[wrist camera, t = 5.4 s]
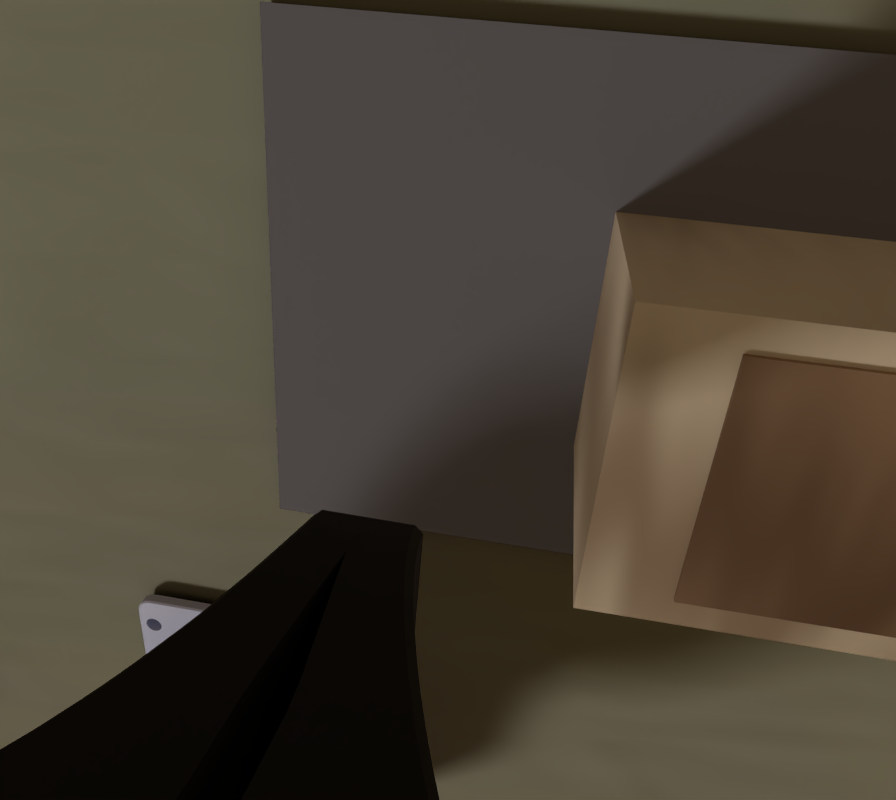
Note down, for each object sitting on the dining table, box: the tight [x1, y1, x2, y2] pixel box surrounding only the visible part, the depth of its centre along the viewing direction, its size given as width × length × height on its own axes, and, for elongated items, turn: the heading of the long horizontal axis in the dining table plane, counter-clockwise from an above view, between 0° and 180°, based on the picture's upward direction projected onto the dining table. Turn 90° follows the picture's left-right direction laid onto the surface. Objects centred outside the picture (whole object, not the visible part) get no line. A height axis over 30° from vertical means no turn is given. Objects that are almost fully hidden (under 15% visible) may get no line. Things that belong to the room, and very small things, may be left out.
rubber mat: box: [260, 2, 896, 555], centre depth 17 cm, size 13×21×1 cm, turn 86°
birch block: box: [573, 212, 896, 661], centre depth 14 cm, size 6×6×10 cm
